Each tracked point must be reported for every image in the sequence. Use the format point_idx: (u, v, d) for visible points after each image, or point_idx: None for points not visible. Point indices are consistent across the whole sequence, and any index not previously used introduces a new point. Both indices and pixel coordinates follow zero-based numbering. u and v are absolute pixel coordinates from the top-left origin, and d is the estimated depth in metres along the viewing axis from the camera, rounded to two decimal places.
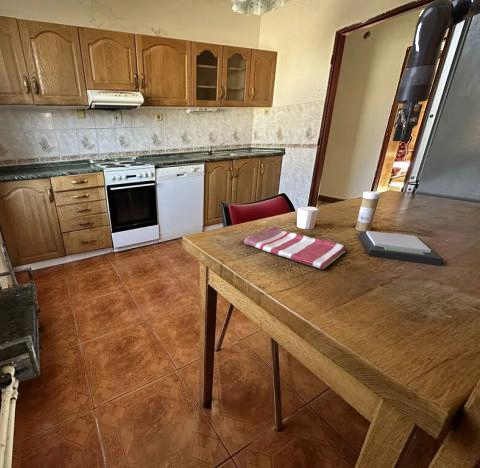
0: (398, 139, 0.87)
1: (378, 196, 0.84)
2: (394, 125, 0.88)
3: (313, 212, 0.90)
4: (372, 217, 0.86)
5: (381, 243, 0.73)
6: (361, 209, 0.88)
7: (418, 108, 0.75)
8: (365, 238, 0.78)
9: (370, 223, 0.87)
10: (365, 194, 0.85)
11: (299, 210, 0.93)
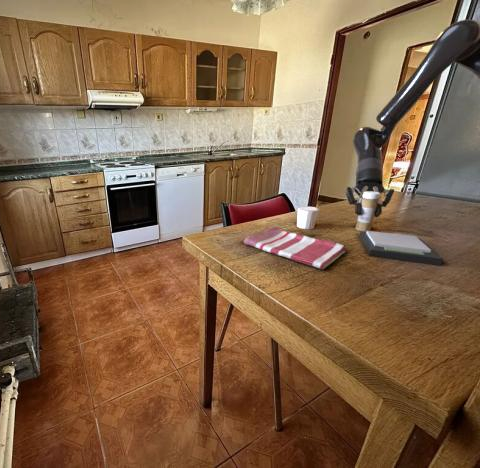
0: (376, 213, 0.85)
1: (378, 196, 0.84)
2: None
3: (313, 212, 0.90)
4: (372, 217, 0.86)
5: (381, 243, 0.73)
6: None
7: (347, 190, 0.92)
8: (365, 238, 0.78)
9: (370, 223, 0.87)
10: (365, 194, 0.85)
11: (299, 210, 0.93)
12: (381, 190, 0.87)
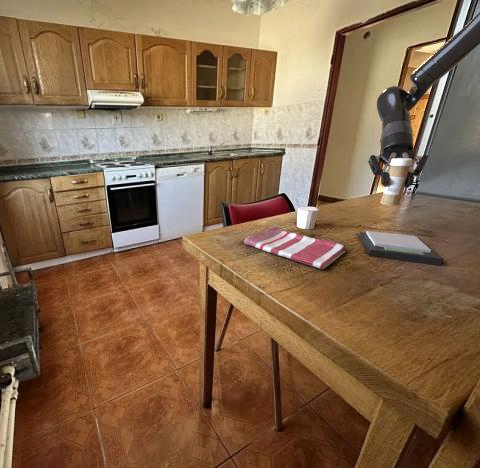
0: (406, 183, 0.73)
1: (410, 162, 0.71)
2: None
3: (313, 212, 0.90)
4: (402, 188, 0.74)
5: (381, 243, 0.73)
6: None
7: (371, 159, 0.79)
8: (365, 238, 0.78)
9: (399, 195, 0.75)
10: (394, 161, 0.73)
11: (299, 210, 0.93)
12: (412, 157, 0.75)
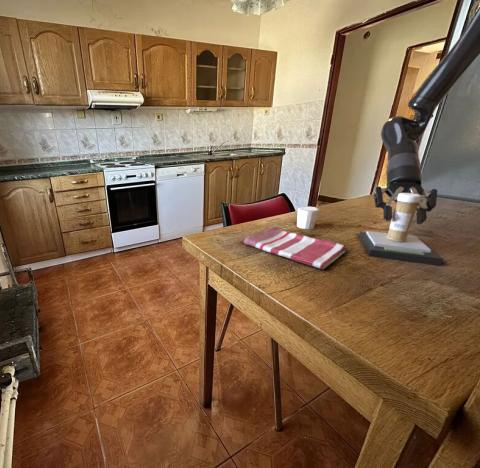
0: (419, 220, 0.70)
1: (418, 199, 0.68)
2: None
3: (313, 212, 0.90)
4: (409, 224, 0.71)
5: (381, 243, 0.73)
6: (395, 214, 0.72)
7: (376, 190, 0.76)
8: (365, 238, 0.78)
9: (406, 231, 0.72)
10: (401, 196, 0.70)
11: (299, 210, 0.93)
12: (420, 192, 0.72)
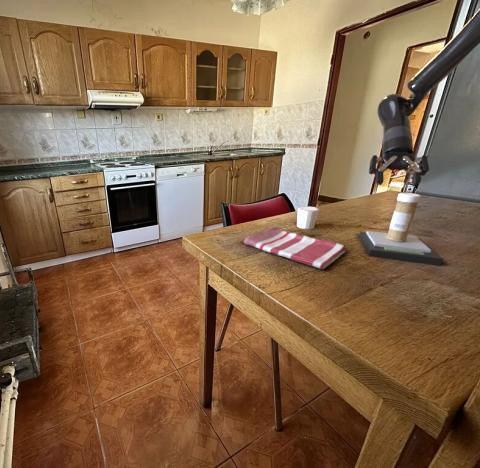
0: (414, 182, 0.78)
1: (418, 199, 0.68)
2: None
3: (313, 212, 0.90)
4: (409, 224, 0.71)
5: (381, 243, 0.73)
6: (395, 214, 0.72)
7: None
8: (365, 238, 0.78)
9: (406, 231, 0.72)
10: (401, 196, 0.70)
11: (299, 210, 0.93)
12: (412, 160, 0.80)
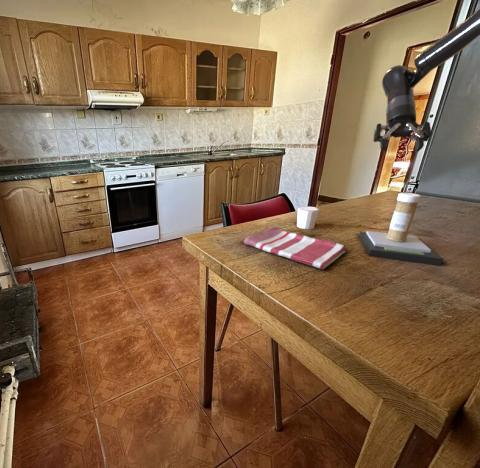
0: (417, 147, 0.81)
1: (418, 199, 0.68)
2: None
3: (313, 212, 0.90)
4: (409, 224, 0.71)
5: (381, 243, 0.73)
6: (395, 214, 0.72)
7: (377, 127, 0.88)
8: (365, 238, 0.78)
9: (406, 232, 0.72)
10: (401, 196, 0.70)
11: (299, 210, 0.93)
12: (415, 126, 0.84)
